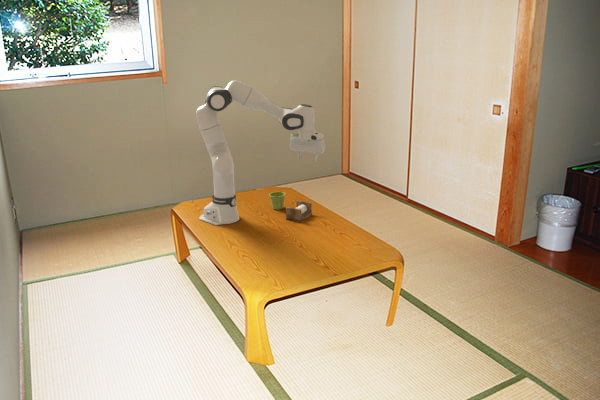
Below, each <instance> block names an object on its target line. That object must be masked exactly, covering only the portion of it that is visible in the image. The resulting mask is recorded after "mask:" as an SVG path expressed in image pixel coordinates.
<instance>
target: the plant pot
mask: <svg viewBox="0 0 600 400" xmlns="http://www.w3.org/2000/svg"><path fill="white" fill-rule="evenodd" d="M268 196H269V198H270V202H271V207H272V209H273V210H276V211H279V210H280V211H281V210H282V209H284V202H285V196H286V193H285V192H283V191H273V192H270V193H269V194H268Z"/></svg>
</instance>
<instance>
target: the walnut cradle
mask: <svg viewBox="0 0 600 400" xmlns="http://www.w3.org/2000/svg"><path fill="white" fill-rule="evenodd" d="M295 202H296V207H290V206H285V220H286V221H293V222H297V223H302V222H303V221H304V220H306V219H308V218H309V217H311V216H312V214H313V213H312V212H313V211H312V205H313V204H312V202H309V201H304V200H296V201H295ZM302 204H303V205H305V206H306V207H307V211H306V212H305V213H303V214H302V215H301V209H296V208H297V207H298V206H300V205H302Z"/></svg>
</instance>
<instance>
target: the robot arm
mask: <svg viewBox="0 0 600 400" xmlns="http://www.w3.org/2000/svg"><path fill="white" fill-rule="evenodd" d="M231 103H236V104H238V106H239V105H240V106H242V108H245V109H247V110H249V111H253V112H255V111H256V112H257V111H260V112H261V111H262V112H264V113H267V114H268V115H270V116H272V117H274V118H275V119H277V121H279V123H280V124H281V125H282V127H283V128H284V129H285V130H287V131H295V130H298V133H292V134H290V135H289V150H290V151H291V152H292V151H293V152H295V154H296V156H297V160H301V159H302V157H303V156H302V155H301V153H300V152H303V153H311V154H314V157H313V158H312V161H313V162H317V161H318V157H319V155H321V154H324V153H325V151H326V143H325V140H324V138H325V137H324V136H325V135H324V134H323V133H321V132H318V131H316V127H315V122H316V117H315V108H314V107H313V106H312V105H310V104H307V103H300V104H299V105H298V106H297V107H295V108H289V107H283V106H281V105H278V104H276V103H275V102H272V101H270V100H269V99H268V98H266V97H265V95H263V93H262V92H260V91H259V90H258V89H256V88H255V87H254V86H252V85H249V84H247V83H245V82H243V81H240V80H238V79H232V80H231V81H229V82H228V84H227V85H226V87H224V88H223V87H222V86H219V85H215V86H212V87H210V88H209V89H208V90H207V93H206V96H205V104H203V105H200V106H199V107H198V108H197V109H196V111H195V116H196V121H197V126H198V128H199V132H200V134H201V137H202V139H203V142H204V145H205V147H206V149H207V153H208V154H209V157H210V160H211V166H212V177H213V178H212V180H213V181H212V182H213V193H214V194H213V195H211V197H210V200H211V202H209V203H208V204H207V205H206V206H204V208H203V212H202V214H201V215H200V216H199V218H198V219H199V221H202V222H206V223H209V224H211V225H214V226H220V225H221V226H222V225H228V224H234V223H236V222H238V221H240V216H239V212H238V208H237V196H236V195H237V194H236V188H235V165H234V158H233V155H232V153H231V150H230V147H229V143H228V142H227V139H226V136H225V133H224V130H223V127H222V124H221V121H220V118H219V114H218V112H222V111H224V110H225V109H226V108H228V106H229V105H230V104H231Z"/></svg>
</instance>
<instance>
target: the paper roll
mask: <svg viewBox="0 0 600 400" xmlns="http://www.w3.org/2000/svg"><path fill="white" fill-rule="evenodd" d="M295 208H296V209H301V215H302V214H303V213H305V212H306V211H307V207H306V206H305V205H303V204H302V205H300V206H298V207H297V206H296V207H295Z"/></svg>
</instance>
